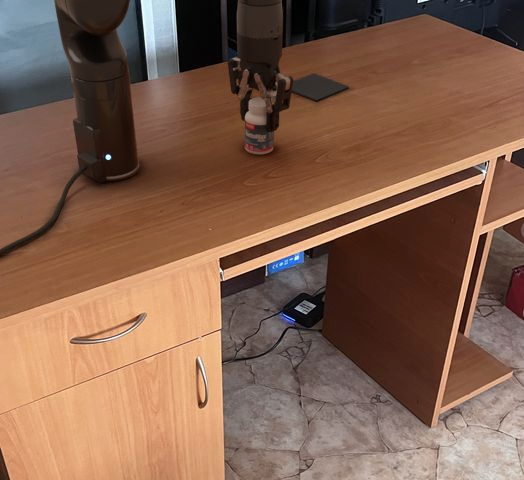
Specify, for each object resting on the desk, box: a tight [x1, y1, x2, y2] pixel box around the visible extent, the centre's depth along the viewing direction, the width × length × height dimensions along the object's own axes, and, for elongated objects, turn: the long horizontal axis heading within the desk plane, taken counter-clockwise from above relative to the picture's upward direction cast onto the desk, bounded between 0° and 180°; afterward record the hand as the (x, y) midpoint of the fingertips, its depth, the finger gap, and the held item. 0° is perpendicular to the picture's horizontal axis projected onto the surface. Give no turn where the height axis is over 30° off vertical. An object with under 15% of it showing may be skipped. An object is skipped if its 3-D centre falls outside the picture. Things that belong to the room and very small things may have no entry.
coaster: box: [291, 73, 350, 103], centre depth 164 cm, size 10×10×1 cm
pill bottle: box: [244, 96, 275, 155], centre depth 140 cm, size 5×5×9 cm
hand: (259, 124), depth 140 cm, fingers open, 5 cm apart
